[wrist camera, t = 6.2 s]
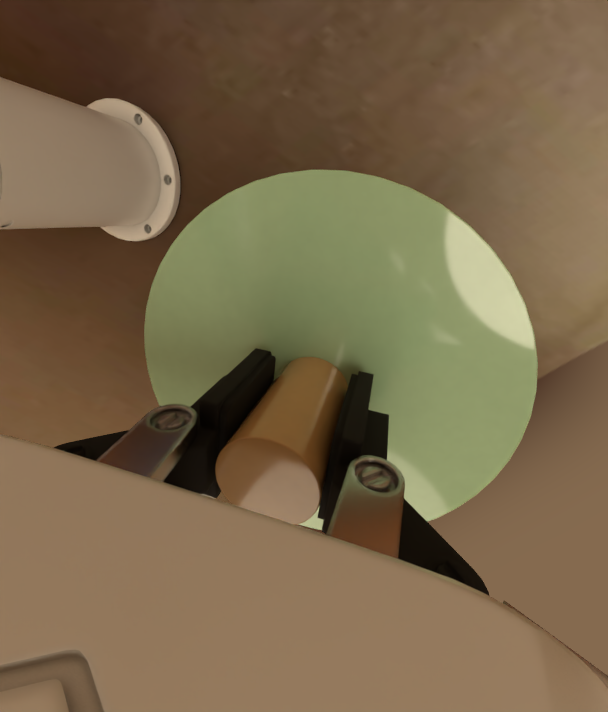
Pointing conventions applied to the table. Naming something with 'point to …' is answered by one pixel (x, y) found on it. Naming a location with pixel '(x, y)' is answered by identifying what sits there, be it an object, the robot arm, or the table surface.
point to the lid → (345, 336)
